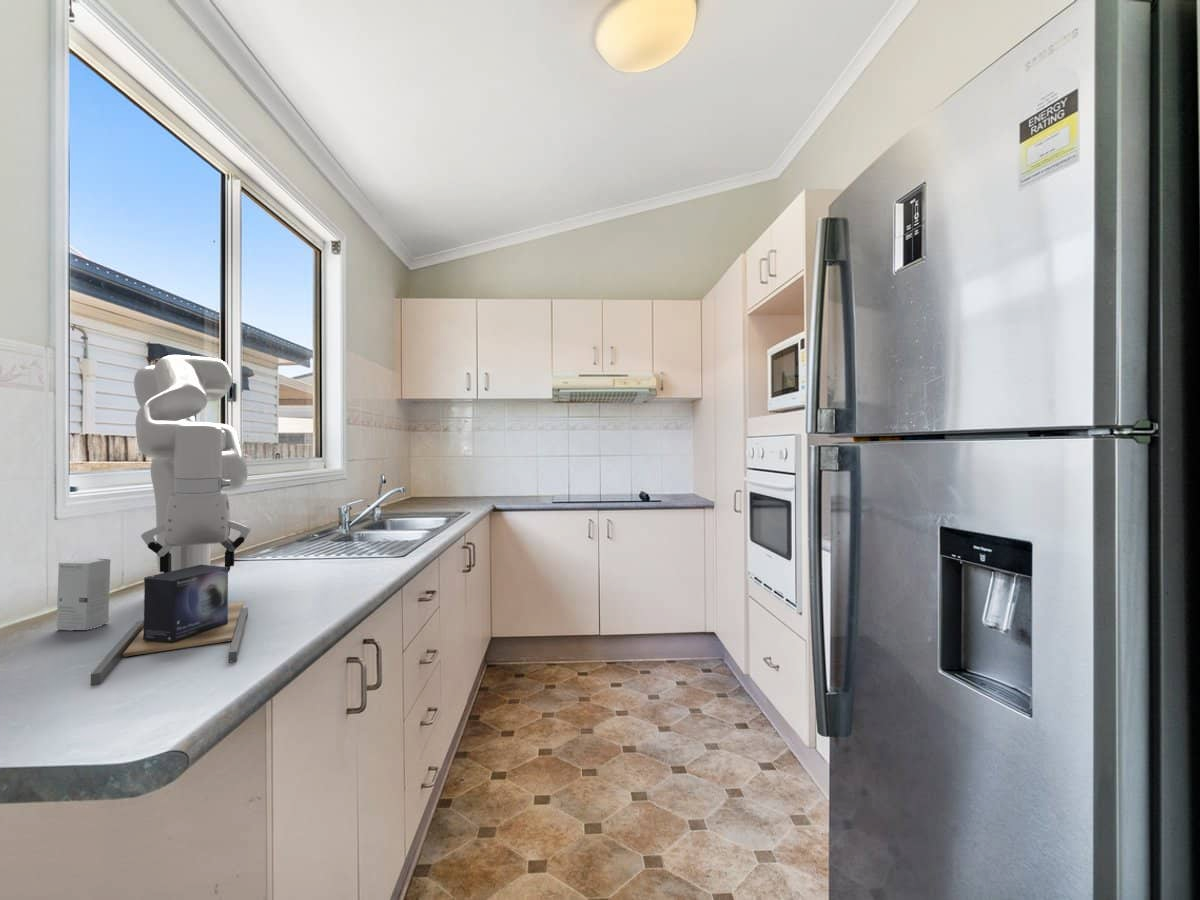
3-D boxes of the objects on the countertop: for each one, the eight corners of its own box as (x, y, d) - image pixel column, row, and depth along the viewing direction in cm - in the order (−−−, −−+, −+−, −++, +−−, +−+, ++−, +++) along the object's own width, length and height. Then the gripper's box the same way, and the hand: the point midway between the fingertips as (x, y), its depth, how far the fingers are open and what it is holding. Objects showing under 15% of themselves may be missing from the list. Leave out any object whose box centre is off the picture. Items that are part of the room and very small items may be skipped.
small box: (174, 644, 88) (173, 579, 87) (141, 641, 89) (140, 577, 89) (230, 623, 98) (230, 565, 98) (200, 621, 99) (199, 563, 99)
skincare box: (55, 630, 96) (54, 562, 96) (80, 622, 101) (80, 557, 101) (87, 631, 96) (86, 563, 96) (112, 623, 100) (111, 557, 100)
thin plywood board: (156, 614, 105) (156, 580, 105) (243, 603, 112) (243, 572, 112) (123, 656, 84) (122, 614, 84) (232, 640, 91) (232, 601, 91)
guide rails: (136, 629, 97) (136, 621, 97) (247, 615, 105) (247, 607, 105) (90, 685, 74) (90, 674, 74) (236, 661, 82) (236, 651, 82)
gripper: (251, 483, 114) (251, 563, 115) (146, 485, 106) (146, 572, 106) (249, 487, 108) (249, 573, 108) (136, 490, 99) (137, 582, 100)
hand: (198, 572), depth 107 cm, fingers open, 9 cm apart
